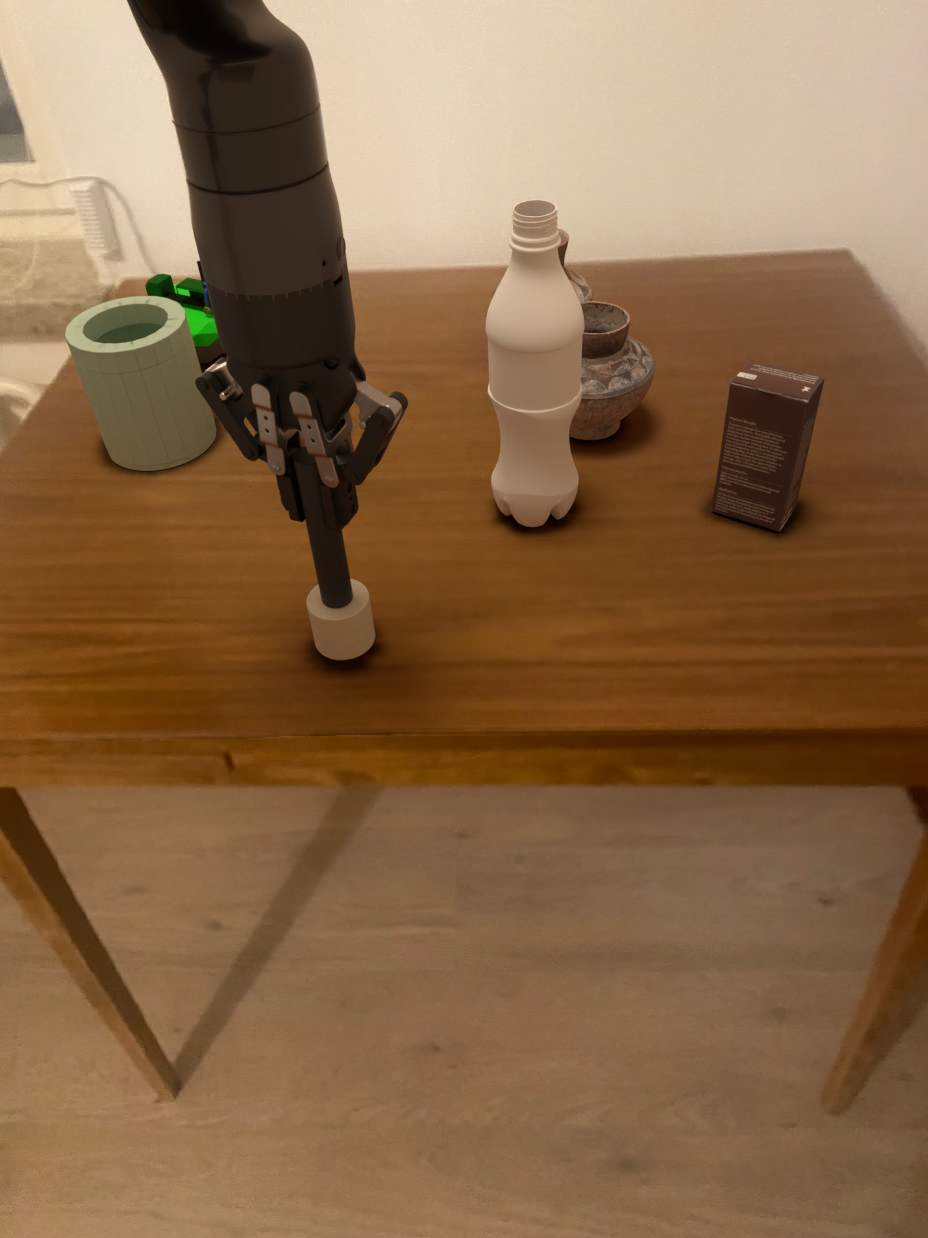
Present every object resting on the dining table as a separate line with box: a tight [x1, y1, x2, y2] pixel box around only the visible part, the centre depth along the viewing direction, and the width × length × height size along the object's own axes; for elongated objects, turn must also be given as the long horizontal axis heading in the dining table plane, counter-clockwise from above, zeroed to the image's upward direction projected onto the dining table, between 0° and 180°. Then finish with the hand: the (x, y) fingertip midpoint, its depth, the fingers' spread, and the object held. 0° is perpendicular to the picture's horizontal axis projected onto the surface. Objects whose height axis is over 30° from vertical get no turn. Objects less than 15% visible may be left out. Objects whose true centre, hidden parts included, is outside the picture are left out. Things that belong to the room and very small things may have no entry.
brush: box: [293, 446, 376, 661], centre depth 65 cm, size 4×4×16 cm
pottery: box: [492, 227, 656, 441], centre depth 91 cm, size 11×25×12 cm, turn 15°
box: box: [711, 359, 825, 533], centre depth 76 cm, size 6×4×12 cm
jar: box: [64, 295, 217, 472], centre depth 88 cm, size 10×10×12 cm
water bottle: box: [484, 199, 584, 528], centre depth 73 cm, size 7×7×25 cm
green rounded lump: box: [144, 260, 225, 365], centre depth 100 cm, size 12×12×11 cm
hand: (322, 517), depth 63 cm, fingers closed on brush, 2 cm apart
